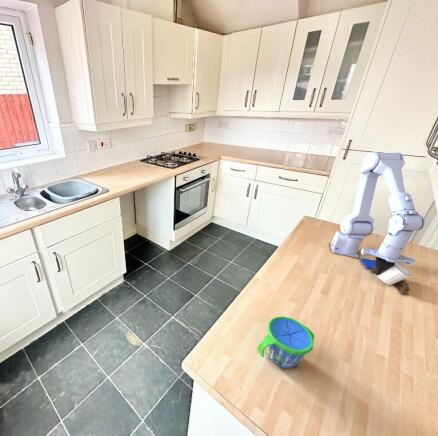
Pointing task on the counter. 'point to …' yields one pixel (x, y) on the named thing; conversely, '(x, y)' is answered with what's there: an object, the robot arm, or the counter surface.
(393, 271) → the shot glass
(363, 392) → the counter surface
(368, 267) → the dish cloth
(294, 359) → the snack cup
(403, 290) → the corner guard
